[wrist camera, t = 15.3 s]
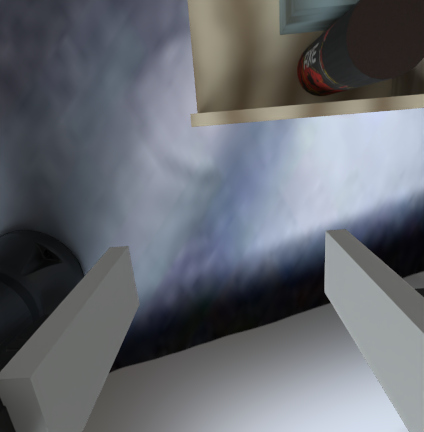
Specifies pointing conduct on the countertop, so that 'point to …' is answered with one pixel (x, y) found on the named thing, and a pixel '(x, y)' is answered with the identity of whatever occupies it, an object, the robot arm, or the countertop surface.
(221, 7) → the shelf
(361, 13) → the deodorant
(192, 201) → the countertop surface
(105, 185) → the countertop surface
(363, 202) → the countertop surface
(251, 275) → the countertop surface
